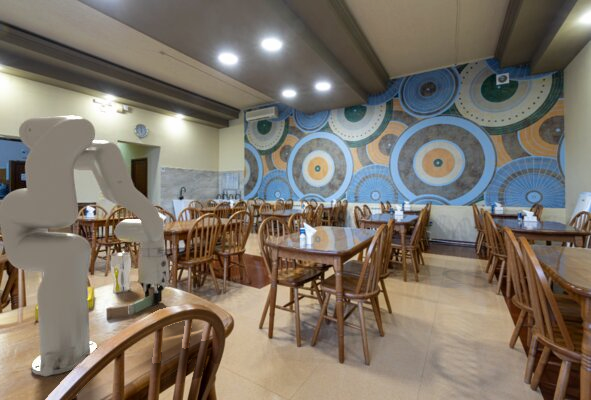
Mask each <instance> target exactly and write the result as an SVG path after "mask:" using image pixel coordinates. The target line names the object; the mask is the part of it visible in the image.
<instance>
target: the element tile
mask: <svg viewBox="0 0 591 400" xmlns="http://www.w3.org/2000/svg"><path fill="white" fill-rule="evenodd" d="M94 301H95V287H94V286H88V310H90V309H92V308H93V307H94ZM34 315H35V316H34V317H35V321H37V322H39V321H38V304H36V306H35V307H34Z"/></svg>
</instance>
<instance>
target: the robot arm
mask: <svg viewBox="0 0 591 400" xmlns="http://www.w3.org/2000/svg"><path fill="white" fill-rule="evenodd" d="M18 135H19V139H20V140H21V142H22V143H23V144H24V145H25V146H26V147H27V148H28V149H30V150H29V152H28V154H27V157H26V160H25V165H24V173H25V182H26V183H25V184H26V188H25V187H24V188H18V189H15V190H12V191H11V192H9V193H8V194H6V195H5V196H4V197H3V198H2V201H1V202H0V230H1V237H2V242H3V247H4V251H5V255H6V258H7V260H8V262H9V263H10V264H11V265H12V266H13V267H15V268H16V269H19V270H22V271H29V272H30V271H31V272H39V273H40V272H41V273H43V276H42V278H41V279H42V280H41V281H40V283H39V286H38V289H37V293H36V294H37V295H36V298H37V299H36V300H37V304H38V321H37V322H38V336H39V337H38V339H39V356H37V357H36V358H35V359H34V360H33V362H32V363H31V371H32V373H33V374H35V375H37V376H42V377H49V376H53V375H59V374H62V373H63V374H64V373H67V372H69V371H72V370H74V368H75V367H76V366H77V365H78V364H79V363H81V362H82V361H83V360H84V359H85V358H86V357H87V356H88V355H90V354H91V353H92V352H93V351H94V350H95V349H96V348H97V349H98V344H97V343H96V342H94V341H92V340H91V339H90V338H91V337H90V315H89V313H90V311H89V310H90V309H88V287H89V286H88V285H89V284H88V279H89V278H88V277H89V275H88V274H89V267H90V263H91V257H92V247H91V244H90V242H89V240H87V239H86V238H85V237H83V236H82V235H79V234H75V233H70V232H55V231H53V232H50V231H49V229H50V230H51V229H52V230H53V229H54V230H55V229H57V230H58V229H63V228H64V229H65V228H67V227H70V226H71V225H74V224H75V223H76V221H77V219H78V216H79V205H78V198H77V191H76V184H75V175H74V170H76V171H91V172H92V174H93V176H94V178H95V181H96V183H97V185H98V187H99V189H100V191H101V193H102V196H103V198H105V200H107V201H109V202H111V203H113V204H115V205H117V206H119V207H121V208H124V209H125V210H128V211H129V212H130V213H132V214H134V215H135V216H136V217H137V218H127V219H126V218H125V219H124V220H123V219H122V220H121V221H119V222H118V223H117V225H116V226H115V228H114V235H115V237H116V238H117V239H118V240H119V241H121V242H126V243H139V246H140V248H139V249H140V254H139V258H138V264H137V265H138V266H137V267H138V268H137V283H138V284H139V285H140V286H141V287H142V288H143V292H144V298H145V297H147V296H149V288H151V287H154V290H155V293H154V294H153V300H154V304H155V305H158V304H159V303H161V302H162V300H163V299H162V298H163V295H162V294H163V293H162V292H163V291H164V289H165V288H167V287H168V286H170V283H169V280H170V271H169V270H170V269H169V263H168V262H169V261H168V258H167V255H166V254H165V253H166V249H165V237H164V236H165V235H164V234H165V233H164V231H165V229H164V224H165V223H164V219H163V218H162V217H160V213H159V211H158V209H157V207H156V206H155V204H154V203H152V201H150V200H149V199H148V198H147V197H146V196H145V195H144V194H143V193H142V192H141V191H140V190H138V189H137V188H136V187H135V183H134V182H133V179H132V176H131V174H130V172H129V169H128V167H127V164H126V161H125V159H124V156H123V154H122V152H121V148H120V147H119V145H117V143H114V142H111V141H108V140H95V138H96V130H95V126H94V125H93V123H92V122H91V121H90V120H89V119H86V118H85V117H82V116H75V115H58V116H37V117H32V118H29V119H26V120H24V121H23V122H22V123H21V124H20V126H19V128H18ZM37 304H36V305H37ZM75 369H76V368H75Z"/></svg>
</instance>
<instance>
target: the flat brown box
mask: <svg viewBox="0 0 591 400" xmlns="http://www.w3.org/2000/svg"><path fill="white" fill-rule="evenodd" d="M105 311H106V320H112V319H116V318H123V317H128V316H133V315H135V313H134V304H133V303H130V304H124V305H123V304H122V305H116V306H112V307H111V306H109V307H107V308H106V310H105Z"/></svg>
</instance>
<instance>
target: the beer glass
mask: <svg viewBox="0 0 591 400" xmlns="http://www.w3.org/2000/svg"><path fill="white" fill-rule="evenodd" d="M131 270H132V259H131V252H130V251H120V252H114V253H111V255H110V271H111V275H112V280H113V288H112V292H113V293H114V294H123V293H126V292H128V290H129V291H130V290H131V284H130V275H131Z"/></svg>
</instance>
